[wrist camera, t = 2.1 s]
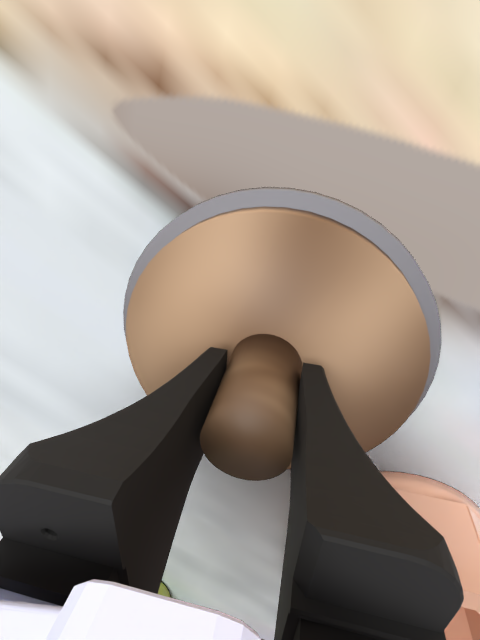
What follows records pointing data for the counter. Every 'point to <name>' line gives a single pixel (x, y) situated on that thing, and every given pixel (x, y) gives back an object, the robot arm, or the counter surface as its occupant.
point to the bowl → (450, 540)
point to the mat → (319, 206)
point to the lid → (280, 329)
